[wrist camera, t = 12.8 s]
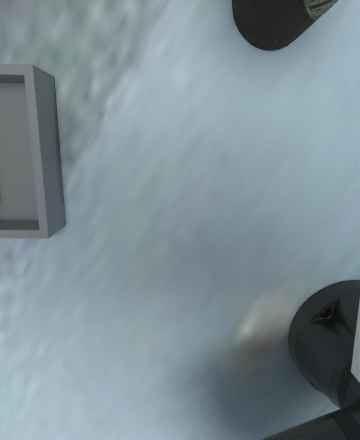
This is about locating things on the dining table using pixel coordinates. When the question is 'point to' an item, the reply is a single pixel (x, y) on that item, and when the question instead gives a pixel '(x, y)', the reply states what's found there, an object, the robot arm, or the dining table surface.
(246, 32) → the container
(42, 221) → the grey tray
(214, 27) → the dining table surface
